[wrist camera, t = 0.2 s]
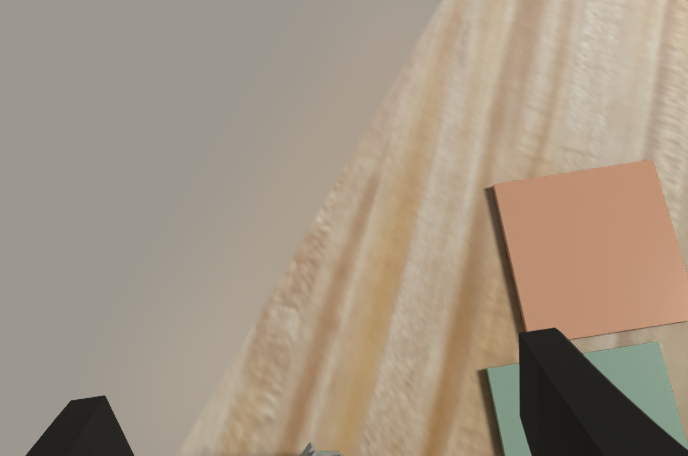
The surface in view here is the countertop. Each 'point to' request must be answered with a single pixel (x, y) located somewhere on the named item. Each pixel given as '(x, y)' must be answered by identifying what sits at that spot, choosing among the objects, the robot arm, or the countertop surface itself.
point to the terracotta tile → (593, 251)
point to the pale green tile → (616, 365)
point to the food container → (318, 452)
